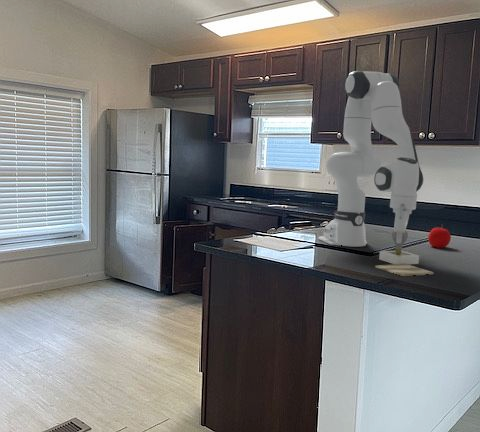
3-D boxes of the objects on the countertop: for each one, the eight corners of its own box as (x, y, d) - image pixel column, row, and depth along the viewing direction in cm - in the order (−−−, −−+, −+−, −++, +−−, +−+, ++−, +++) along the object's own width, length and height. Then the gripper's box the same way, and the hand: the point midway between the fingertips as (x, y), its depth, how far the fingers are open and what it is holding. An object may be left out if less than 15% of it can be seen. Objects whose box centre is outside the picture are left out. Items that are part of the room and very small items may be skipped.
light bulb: (408, 256, 171) (411, 229, 170) (393, 256, 171) (396, 228, 170) (402, 253, 177) (404, 226, 175) (387, 253, 176) (390, 226, 175)
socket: (379, 259, 176) (379, 251, 176) (399, 258, 180) (400, 250, 180) (397, 265, 167) (398, 256, 167) (418, 263, 171) (419, 255, 171)
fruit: (451, 250, 203) (454, 226, 201) (429, 248, 204) (431, 225, 203) (447, 246, 212) (449, 223, 210) (425, 244, 213) (427, 222, 212)
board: (375, 267, 163) (375, 265, 163) (405, 265, 168) (405, 263, 168) (402, 276, 151) (402, 274, 151) (433, 274, 156) (433, 272, 156)
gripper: (411, 207, 161) (407, 247, 162) (413, 202, 179) (409, 238, 181) (391, 205, 163) (388, 245, 165) (395, 200, 182) (392, 236, 184)
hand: (399, 241), depth 173 cm, fingers closed on light bulb, 5 cm apart
